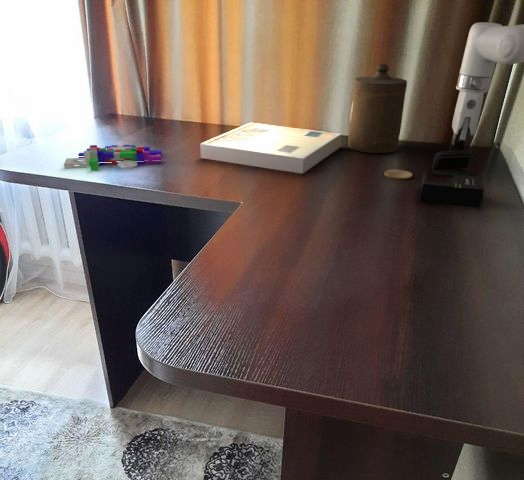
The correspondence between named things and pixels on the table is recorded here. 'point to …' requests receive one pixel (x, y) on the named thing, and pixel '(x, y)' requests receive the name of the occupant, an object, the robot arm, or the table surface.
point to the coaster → (398, 174)
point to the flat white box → (272, 147)
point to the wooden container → (377, 112)
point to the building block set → (114, 157)
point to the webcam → (451, 163)
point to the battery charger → (453, 191)
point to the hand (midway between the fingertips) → (453, 160)
